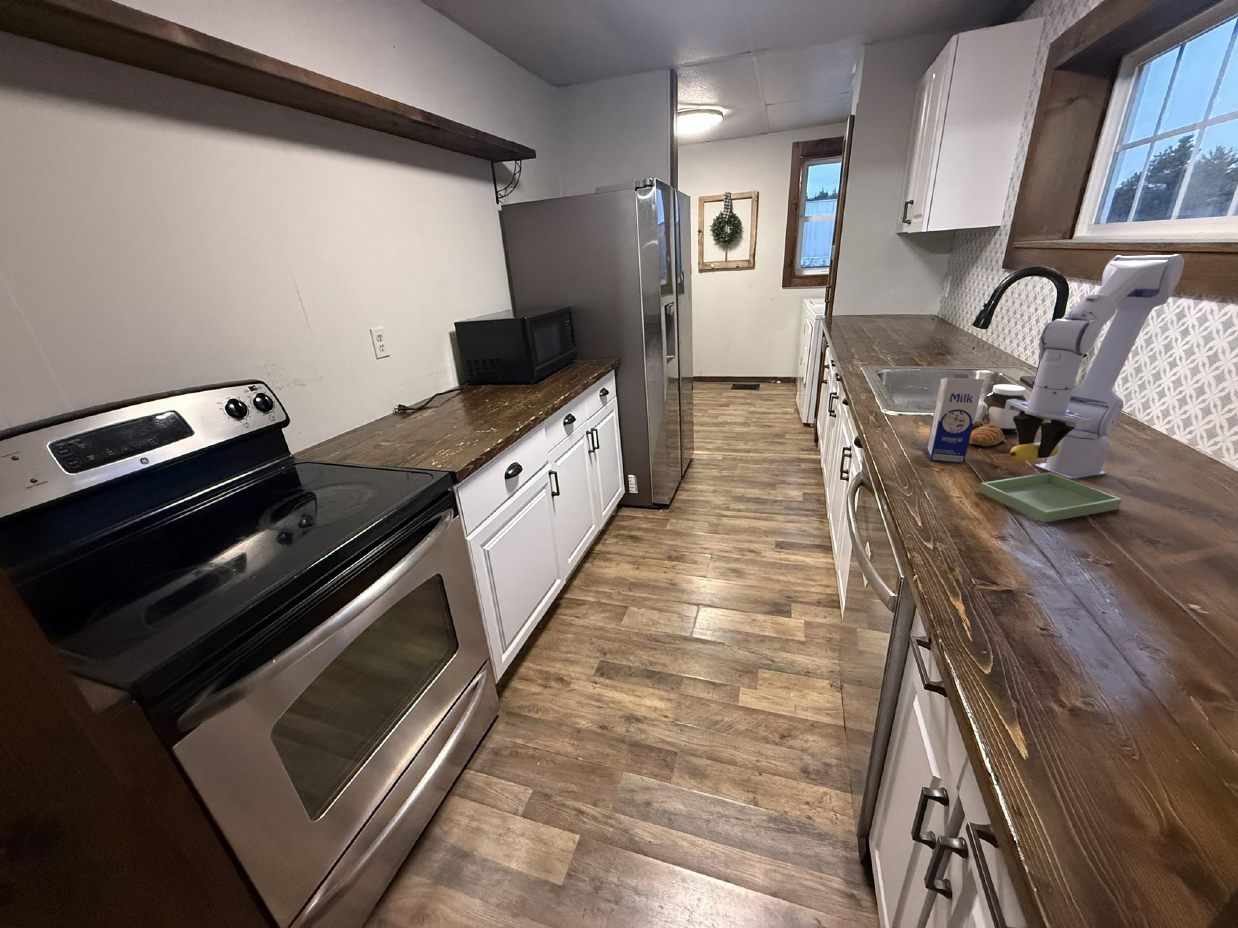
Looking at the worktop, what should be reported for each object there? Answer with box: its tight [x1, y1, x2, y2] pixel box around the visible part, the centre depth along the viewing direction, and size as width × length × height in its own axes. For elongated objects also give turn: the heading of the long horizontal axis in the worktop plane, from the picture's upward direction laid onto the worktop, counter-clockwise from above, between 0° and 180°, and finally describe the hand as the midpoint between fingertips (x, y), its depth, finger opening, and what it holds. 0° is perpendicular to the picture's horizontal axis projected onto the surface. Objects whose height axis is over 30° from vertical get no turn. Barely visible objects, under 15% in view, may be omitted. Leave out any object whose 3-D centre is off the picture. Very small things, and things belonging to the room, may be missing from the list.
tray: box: [978, 471, 1123, 524], centre depth 96 cm, size 17×13×3 cm
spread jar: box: [974, 383, 1028, 434], centre depth 134 cm, size 12×11×12 cm
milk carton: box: [925, 373, 985, 464], centre depth 115 cm, size 7×7×20 cm
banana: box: [1008, 441, 1059, 462], centre depth 97 cm, size 11×3×3 cm, turn 103°
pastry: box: [969, 425, 1005, 448], centre depth 126 cm, size 9×7×4 cm
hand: (1033, 453), depth 98 cm, fingers closed on banana, 3 cm apart
